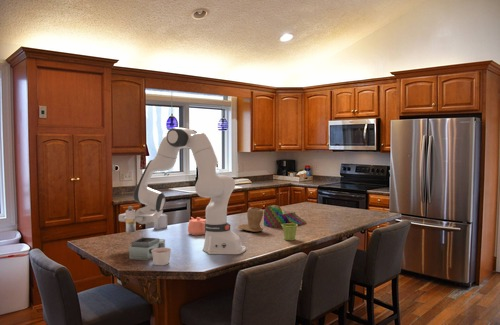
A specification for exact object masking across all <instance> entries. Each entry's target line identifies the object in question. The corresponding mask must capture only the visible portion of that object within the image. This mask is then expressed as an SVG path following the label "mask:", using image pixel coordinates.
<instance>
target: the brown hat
mask: <svg viewBox="0 0 500 325" xmlns="http://www.w3.org/2000/svg"><path fill="white" fill-rule="evenodd" d="M246 213H247V215H246V216H247V224H240V225H238V227H237V228H238V229H240V230H244V231H247V232H255V233H257V232H261V231H263V230H264V229H263V228H262V227H261V222H262V219H263V218H264V210H263V209H262V208H258V207H248V209H247V212H246Z"/></svg>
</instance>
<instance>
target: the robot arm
mask: <svg viewBox="0 0 500 325" xmlns="http://www.w3.org/2000/svg"><path fill="white" fill-rule="evenodd" d="M181 149H183V150H191V153H192V155H193V158H194V161H195V163H196V166H197V167H196V168H197V172H198V177H197V180H196V183H195V186H194V188H195V192H196V194H197V196H199V197H201V198H205V199H206V198H207V199H209V198H210V200H209V202H208V204H207V205H206V207H205V219H206V223H205V235H204V237H205V238H204V242H203V243H204V244H203V247H202V251H203V252H205V253H206V254H209V255H240V254H243V253H244V252H245V251H247V247H246V246H245V245H242V240H241V237H240V236H239V235H238V234H237V233H235V232H234V231H232V230H231V226H232V224H231V223H229V222H228V218H227V217H228V216H227V215H228V210H227V209H228V204H229V200H230V197H231V195H232V193H233V191H234V190H235V188H236V182H235V179H234V178H233V177H232V176H230V175H226V174H219V175H218V174H217V170H216V167H217V166H218V164H219V161H218V158H217V156H216V153H215V151H214V148H213V145H212V143H211V141H210V138H209V137H208V136H207V134H206V133H204V132H198V131H196V130H193V129H189V128H187V127H177V126H176V127H172V128H170V129H169V130H168V131H167V133H166V136H164V137H163V138H162V140H161V142H160V144H159V146H158V149H157V153H156V155H155V157H154V158H153V159H151V160H149V161H148V163H147V165H146V166H145V168H144V170H143V172H142V174H141V176H140V179H139V182H138V183H137V185H136V187H135V188H134V190H133V192H132V197H133V200H134V201H135V203H139V204H142V205H146V206H143V207H141V208H140V207H139V208H138V209H137V210H135V218H134V222H136V223H138V224H139V225H145V224H151V223H154V222H158V218H159V217H160V216H161V215H162V214H163V212H164V210H163V209H164V208H165V205H166V201H167V199H166V195H165V193H163V192H162V191H159V190H156V189H153V188H151V187H149V186H148V185H149V182H150V180H151V179H152V176H153V174H154V173H155V172H165V171H166V172H167V171H169V170H172V169H173V167H174V166H175V164H176V161H177V159H178V155H179V152H180V150H181ZM118 222H125V223H126V212H124V213H119V214H118Z"/></svg>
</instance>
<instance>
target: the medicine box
mask: <svg viewBox="0 0 500 325" xmlns="http://www.w3.org/2000/svg"><path fill="white" fill-rule="evenodd" d="M153 228H154V229H155V230H162V229H165V228H168V215H167V214H165V213H164V214H163V213H162V215H161V216H160V217H159V218H158V222H153Z"/></svg>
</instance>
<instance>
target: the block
mask: <svg viewBox="0 0 500 325" xmlns="http://www.w3.org/2000/svg"><path fill="white" fill-rule="evenodd" d="M287 223H293V224H297V225H298V226H302V225H307V221H306V220H304V219H303V218H301V217H300V216H298V215H297V214H296V212H295V211H290V210H283V209H282V208H281V207H280V205H277V204H276V205H275V204H273V205H268V206H266V207H265V208H264V210H263V226H265V227H270V228H276V229H277V228H282V224H287Z"/></svg>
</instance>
